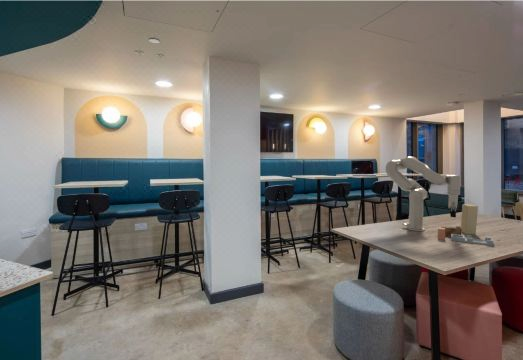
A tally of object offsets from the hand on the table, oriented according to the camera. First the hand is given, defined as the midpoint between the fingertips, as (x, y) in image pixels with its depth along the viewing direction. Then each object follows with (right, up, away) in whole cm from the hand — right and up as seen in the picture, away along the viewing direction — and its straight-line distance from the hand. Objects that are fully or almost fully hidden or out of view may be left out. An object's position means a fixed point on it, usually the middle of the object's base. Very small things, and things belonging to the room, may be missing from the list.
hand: (452, 215), depth 200 cm
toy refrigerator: (+17, -14, +7) cm, 23 cm away
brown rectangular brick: (-12, -15, -6) cm, 20 cm away
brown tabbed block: (0, -14, +2) cm, 14 cm away
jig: (+3, -15, -13) cm, 20 cm away
